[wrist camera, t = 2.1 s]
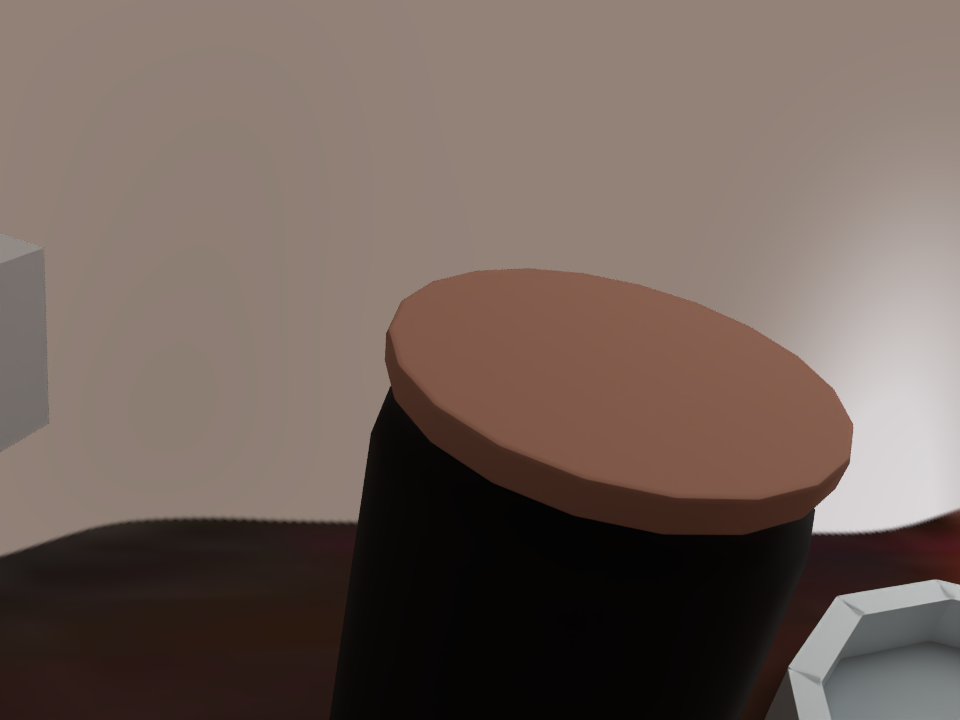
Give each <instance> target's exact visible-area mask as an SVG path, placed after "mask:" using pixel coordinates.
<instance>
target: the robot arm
mask: <svg viewBox="0 0 960 720" xmlns="http://www.w3.org/2000/svg"><path fill="white" fill-rule="evenodd" d="M45 302H46V301H45V267H44V248H43V247H40V246H37V245H34V244H31V243H28V242H25V241H22V240H19V239H16V238H13V237H10V236H7V235H4V234H1V233H0V452H2V451H3V450H5V449H7V448H8V447H10V446H12V445H13V444H15V443H17V442H18V441H20V440H22V439H23V438H25V437H27V436H28V435H30V434H32V433H33V432H35V431H37V430H38V429H40V428H42V427H43V426H45V425H47V424H48V423H49V408H48V375H47V374H48V373H47V338H46V303H45Z"/></svg>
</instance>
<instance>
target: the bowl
mask: <svg viewBox="0 0 960 720" xmlns="http://www.w3.org/2000/svg"><path fill="white" fill-rule="evenodd" d="M764 720H960V585H957V584H953V583H949V582H945V581H940V580H930V581H924V582H918V583H912V584H906V585H900V586H894V587H888V588H882V589H876V590H870V591H864V592H858V593H853V594H847V595H841V596H838V597H836V598H835V600H834V601H833V603H832V604H831V606H830V607H829V609H828V610H827V612H826V613H825V614H824V616H823V617H822V619H821V620H820V622H819V623H818V625H817V626H816V628H815V629H814V630H813V632H812V633H811V635H810V636H809V638H808V639H807V641H806V642H805V644H804V645H803V646H802V648H801V649H800V651H799V652H798V654H797V655H796V657H795V658H794V660H793V661H792V662H791V664H790V665H789V667H788V669H787V671H786V673H785V675H784V678H783V680H782V682H781V684H780V686H779V689H778V691H777V693H776V695H775V697H774V700H773V702H772V704H771V706H770V708H769V711H768V713H767V715H766V717H765V719H764Z"/></svg>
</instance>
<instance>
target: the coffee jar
mask: <svg viewBox="0 0 960 720" xmlns="http://www.w3.org/2000/svg"><path fill="white" fill-rule="evenodd" d="M385 362H386V366H387V370H388V374H389V378H390V382H391V387H390V389H389V391H388V393H387V396H386V398H385V400H384V403H383V405H382V408H381V410H380V413H379V415H378V417H377V420H376V423H375V425H374V427H373V430H372V432H371V437H370V444H369V452H368V458H367V465H366V472H365V479H364V486H363V492H362V500H361V506H360V513H359V520H358V527H357V534H356V541H355V548H354V554H353V561H352V568H351V575H350V582H349V589H348V596H347V603H346V610H345V617H344V623H343V630H342V637H341V644H340V651H339V658H338V665H337V672H336V679H335V686H334V692H333V699H332V706H331V713H330V720H739V718H740V715H741V713H742V711H743V708H744V706H745V704H746V702H747V699H748V697H749V695H750V692H751V690H752V688H753V686H754V683H755V681H756V679H757V676H758V674H759V672H760V670H761V667H762V665H763V663H764V660H765V658H766V656H767V653H768V651H769V649H770V647H771V644H772V642H773V640H774V637H775V635H776V633H777V631H778V628H779V626H780V624H781V621H782V619H783V617H784V615H785V612H786V610H787V608H788V605H789V603H790V601H791V599H792V596H793V594H794V592H795V589H796V587H797V585H798V582H799V580H800V578H801V576H802V573H803V571H804V569H805V566H806V564H807V559H808V553H809V546H810V540H811V534H812V527H813V521H814V513H815V509H814V508H815V507H816V505H818V504H819V503H820V502H821V501H822V500H823V499H824V498H825V497H827V496H828V495H829V494H830V493H831V492H832V491H833V490H834V489H835V488H836V486H837V485H838V483H839V481H840V479H841V477H842V476H843V474H844V472H845V470H846V469H847V467H848V465H849V463H850V454H851V444H852V435H853V423H852V421H851V420H850V418H849V416H848V414H847V412H846V410H845V409H844V407H843V405H842V403H841V401H840V400H839V398H838V396H837V394H836V392H835V391H834V389H833V388H832V387H831V386H830V385H829V384H827V383H826V382H825V381H824V380H823V379H822V378H821V377H820V376H819V375H818V374H817V373H815V372H814V371H813V370H812V369H811V368H810V367H809V366H808V365H807V364H805V362H804V361H802V360H801V359H800V358H799V357H798V356H796V355H795V354H793V353H792V352H790V351H788V350H786V349H785V348H784V347H782V346H780V345H779V344H777V343H775V342H774V341H772V340H771V339H769V338H767V337H766V336H764V335H763V334H761V333H759V332H758V331H756V330H754V329H753V328H751V327H749V326H747V325H745V324H743V323H741V322H738V321H736V320H734V319H731V318H729V317H727V316H725V315H722V314H720V313H718V312H716V311H713V310H711V309H709V308H707V307H704V306H702V305H700V304H698V303H695V302H692V301H689V300H686V299H683V298H680V297H676V296H673V295H670V294H667V293H664V292H660V291H657V290H654V289H651V288H648V287H644V286H641V285H637V284H632V283H628V282H623V281H618V280H612V279H608V278H603V277H599V276H594V275H589V274H584V273H573V272H562V271H551V270H550V271H549V270H540V269H507V270H487V271H474V272H470V273H466V274H462V275H457V276H453V277H449V278H445V279H441V280H437V281H433V282H431V283H430V284H428V285H426V286H425V287H423V288H422V289H420V290H418V291H417V292H415V293H414V294H412V295H410V296H409V297H407V298H406V299H404V300H402V302H401V303H400V306H399V307H398V310H397V312H396V314H395V316H394V318H393V320H392V322H391V324H390V327H389V329H388V331H387V333H386V351H385Z"/></svg>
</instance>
